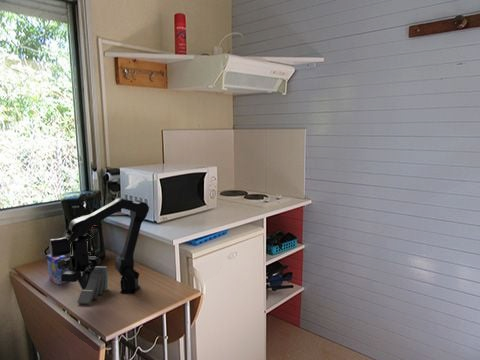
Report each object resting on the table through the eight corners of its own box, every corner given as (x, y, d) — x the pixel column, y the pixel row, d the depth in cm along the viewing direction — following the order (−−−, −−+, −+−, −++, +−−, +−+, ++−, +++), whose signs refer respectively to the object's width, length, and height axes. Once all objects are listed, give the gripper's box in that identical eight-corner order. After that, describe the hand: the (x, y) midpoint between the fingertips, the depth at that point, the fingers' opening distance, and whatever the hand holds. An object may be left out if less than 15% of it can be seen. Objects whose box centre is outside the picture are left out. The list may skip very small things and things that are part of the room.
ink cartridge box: (48, 279, 164) (45, 249, 161) (60, 275, 168) (57, 246, 166) (57, 285, 157) (54, 254, 155) (69, 281, 161) (67, 251, 159)
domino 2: (102, 294, 148) (105, 269, 151) (100, 294, 147) (103, 269, 149) (91, 293, 149) (94, 269, 151) (89, 293, 147) (92, 269, 150)
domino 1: (90, 304, 140) (99, 280, 146) (88, 303, 138) (97, 279, 145) (78, 303, 140) (88, 280, 147) (77, 302, 139) (86, 278, 145)
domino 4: (107, 289, 153) (107, 266, 152) (105, 290, 151) (105, 267, 151) (97, 288, 153) (96, 266, 153) (94, 290, 152) (94, 267, 151)
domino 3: (96, 299, 144) (102, 274, 149) (94, 298, 143) (100, 273, 147) (85, 298, 145) (91, 274, 149) (83, 297, 143) (89, 273, 148)
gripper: (75, 242, 147) (79, 277, 150) (45, 259, 129) (49, 299, 131) (100, 243, 146) (103, 278, 148) (73, 260, 127) (77, 300, 130)
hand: (84, 288), depth 139 cm, fingers closed
